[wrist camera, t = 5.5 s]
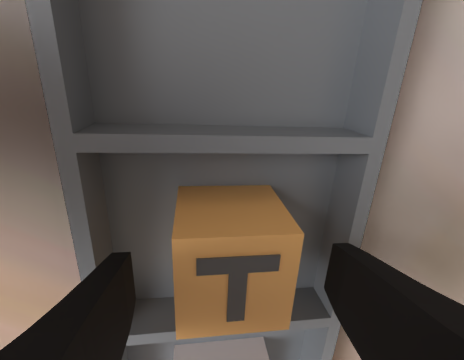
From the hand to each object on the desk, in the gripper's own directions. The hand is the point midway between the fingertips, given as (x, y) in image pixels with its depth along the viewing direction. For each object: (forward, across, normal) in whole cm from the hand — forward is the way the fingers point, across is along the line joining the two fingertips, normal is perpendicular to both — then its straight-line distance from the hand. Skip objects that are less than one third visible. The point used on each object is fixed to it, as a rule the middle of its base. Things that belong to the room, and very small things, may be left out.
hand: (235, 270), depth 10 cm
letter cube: (+3, 0, 0) cm, 3 cm away
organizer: (+3, 0, 0) cm, 4 cm away
